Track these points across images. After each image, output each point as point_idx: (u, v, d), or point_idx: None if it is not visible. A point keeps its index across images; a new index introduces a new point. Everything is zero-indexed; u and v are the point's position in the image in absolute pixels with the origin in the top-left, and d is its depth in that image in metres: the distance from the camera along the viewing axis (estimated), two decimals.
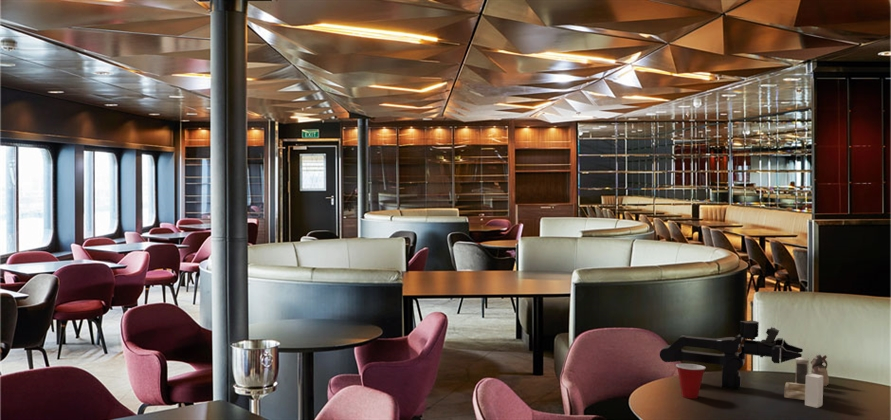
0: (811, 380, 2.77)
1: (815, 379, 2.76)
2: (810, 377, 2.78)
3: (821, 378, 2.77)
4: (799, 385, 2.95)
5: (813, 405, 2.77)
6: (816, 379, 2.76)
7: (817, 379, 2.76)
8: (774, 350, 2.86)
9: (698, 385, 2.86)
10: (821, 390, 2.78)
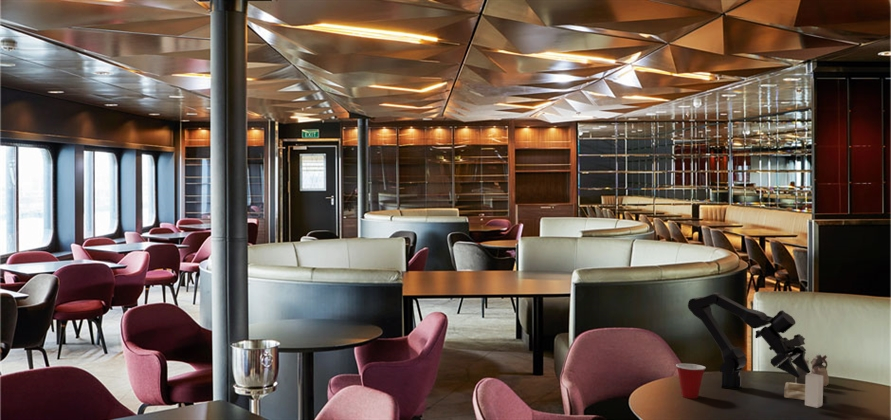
0: (811, 380, 2.77)
1: (815, 379, 2.76)
2: (810, 377, 2.78)
3: (821, 378, 2.77)
4: (799, 385, 2.95)
5: (813, 405, 2.77)
6: (816, 379, 2.76)
7: (817, 379, 2.76)
8: (779, 355, 2.79)
9: (698, 385, 2.86)
10: (821, 390, 2.78)
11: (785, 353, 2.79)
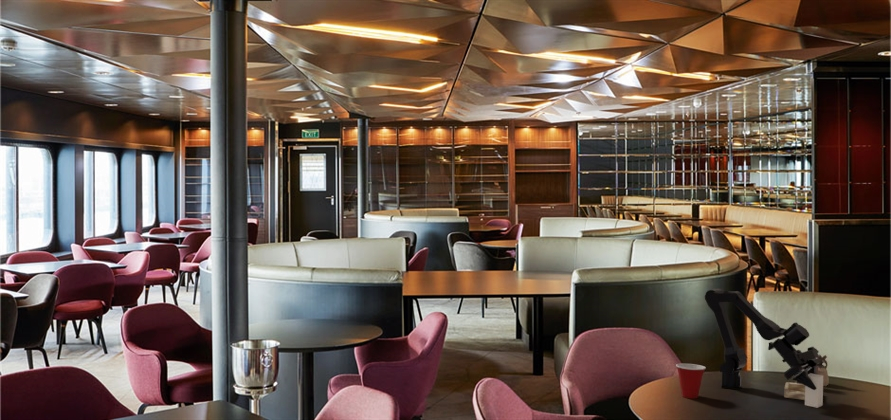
0: (811, 380, 2.77)
1: (815, 379, 2.76)
2: (810, 377, 2.78)
3: (821, 378, 2.77)
4: (799, 385, 2.95)
5: (813, 405, 2.77)
6: (816, 379, 2.76)
7: (817, 379, 2.76)
8: (793, 368, 2.75)
9: (698, 385, 2.86)
10: (821, 390, 2.78)
11: (799, 366, 2.76)
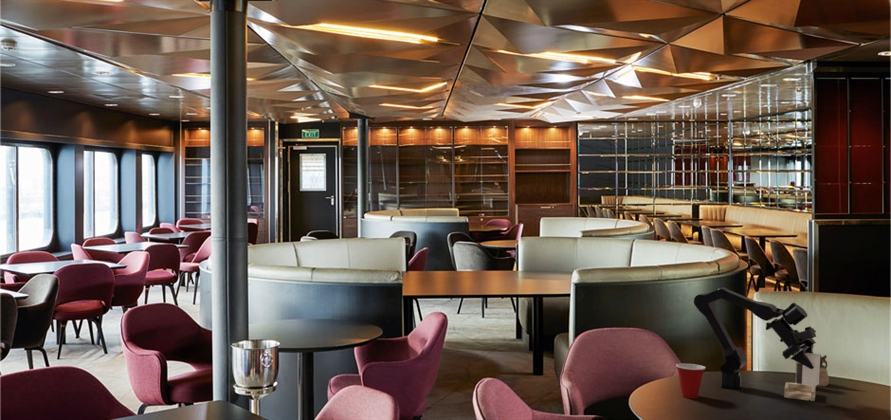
0: (809, 359, 2.81)
1: (813, 358, 2.80)
2: (808, 356, 2.81)
3: (818, 357, 2.81)
4: (799, 385, 2.95)
5: (810, 384, 2.81)
6: (814, 358, 2.79)
7: (815, 358, 2.79)
8: (792, 348, 2.78)
9: (698, 385, 2.86)
10: (818, 369, 2.81)
11: (797, 345, 2.79)
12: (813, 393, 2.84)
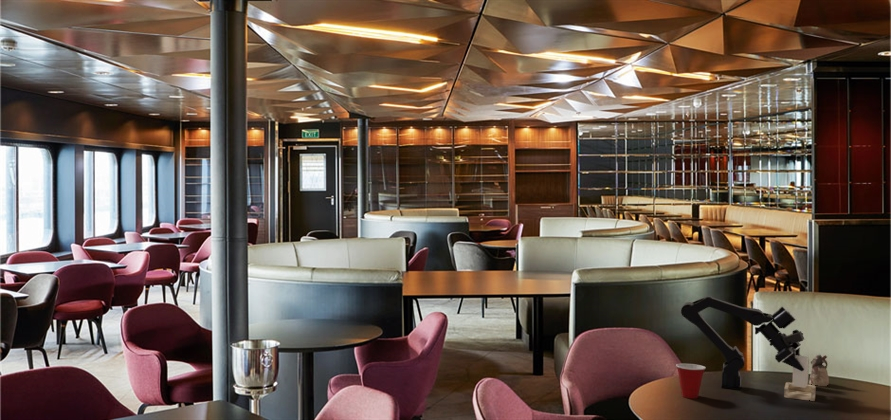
0: (799, 361, 2.89)
1: (803, 360, 2.88)
2: (798, 359, 2.89)
3: (807, 359, 2.90)
4: None
5: (801, 385, 2.89)
6: (804, 360, 2.88)
7: (805, 360, 2.88)
8: (785, 351, 2.85)
9: (698, 385, 2.86)
10: (807, 371, 2.90)
11: (789, 349, 2.86)
12: (813, 393, 2.84)
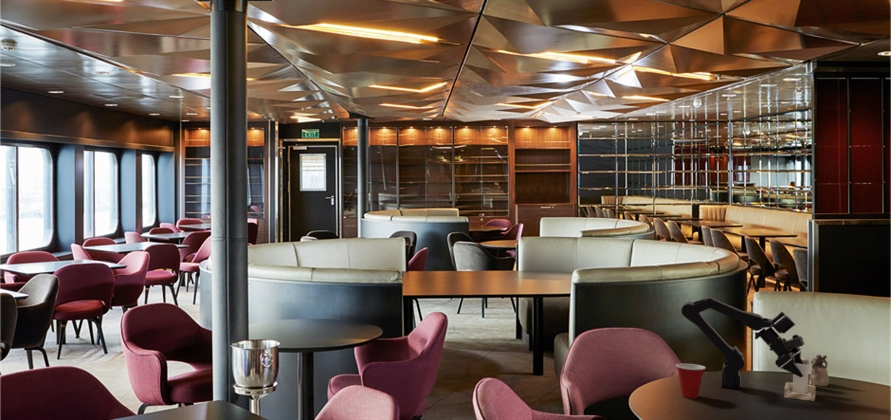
0: None
1: (803, 369, 2.88)
2: (798, 367, 2.89)
3: (807, 367, 2.90)
4: None
5: None
6: (804, 368, 2.88)
7: (805, 368, 2.88)
8: (785, 356, 2.85)
9: (698, 385, 2.86)
10: (807, 379, 2.90)
11: (789, 354, 2.86)
12: (813, 393, 2.84)
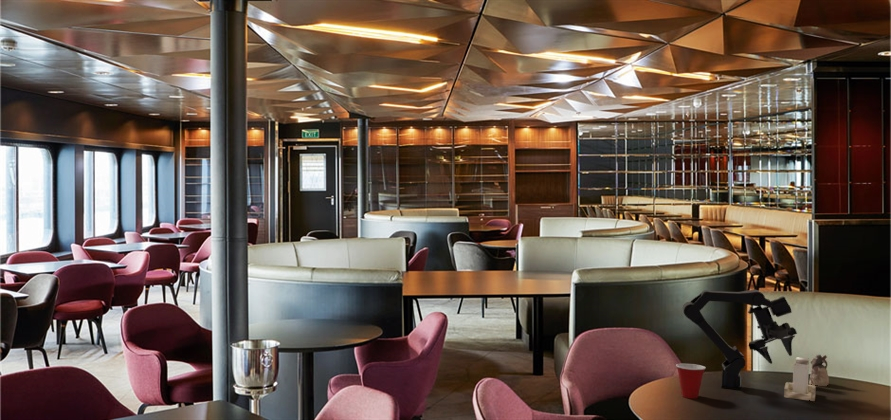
0: (799, 370, 2.89)
1: (803, 368, 2.88)
2: (798, 367, 2.89)
3: (807, 367, 2.90)
4: None
5: None
6: (804, 368, 2.88)
7: (805, 368, 2.88)
8: (754, 344, 2.94)
9: (698, 385, 2.86)
10: (807, 379, 2.90)
11: (761, 343, 2.93)
12: (813, 393, 2.84)
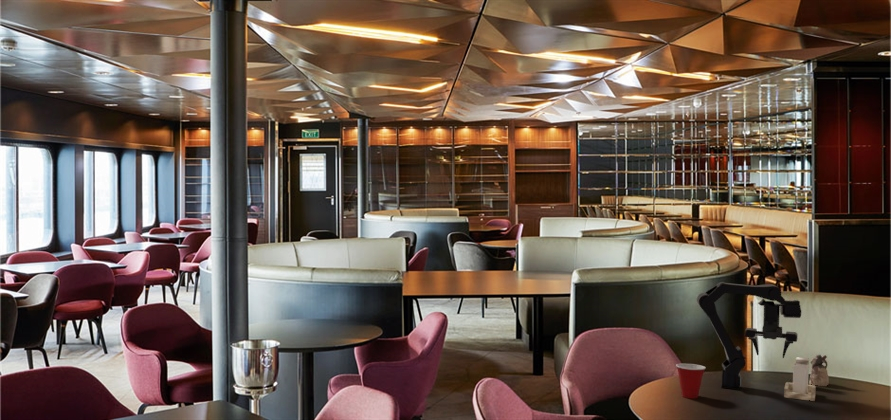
0: (799, 370, 2.89)
1: (803, 368, 2.88)
2: (798, 367, 2.89)
3: (807, 367, 2.90)
4: None
5: None
6: (804, 368, 2.88)
7: (805, 368, 2.88)
8: (745, 331, 3.02)
9: (698, 385, 2.86)
10: (807, 379, 2.90)
11: (750, 333, 2.99)
12: (813, 393, 2.84)
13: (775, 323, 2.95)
